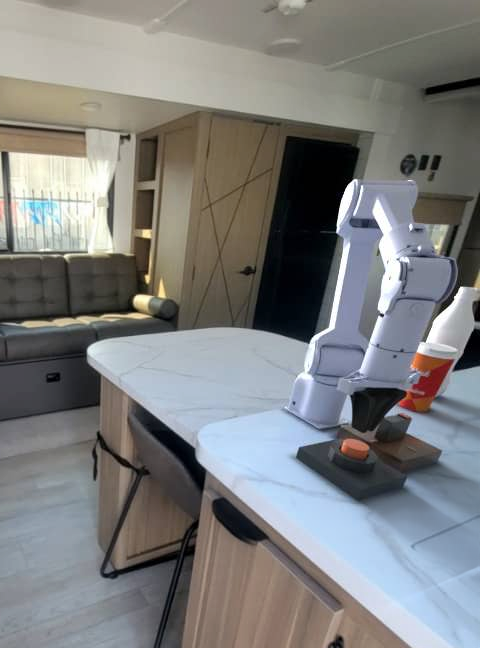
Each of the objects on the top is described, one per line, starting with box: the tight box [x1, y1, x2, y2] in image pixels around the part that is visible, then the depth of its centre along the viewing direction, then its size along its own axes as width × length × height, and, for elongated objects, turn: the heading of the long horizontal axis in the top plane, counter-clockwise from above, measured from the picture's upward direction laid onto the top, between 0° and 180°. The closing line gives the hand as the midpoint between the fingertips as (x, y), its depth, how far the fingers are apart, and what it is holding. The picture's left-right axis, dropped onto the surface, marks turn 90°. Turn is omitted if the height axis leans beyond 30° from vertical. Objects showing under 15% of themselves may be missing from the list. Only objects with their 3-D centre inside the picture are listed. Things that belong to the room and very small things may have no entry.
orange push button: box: [341, 439, 370, 459], centre depth 65 cm, size 4×4×2 cm
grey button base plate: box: [295, 438, 408, 502], centre depth 66 cm, size 12×10×4 cm
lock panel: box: [336, 423, 443, 473], centre depth 73 cm, size 12×10×3 cm
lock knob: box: [375, 412, 413, 442], centre depth 72 cm, size 5×2×4 cm, turn 110°
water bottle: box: [425, 286, 479, 398], centre depth 92 cm, size 7×7×25 cm
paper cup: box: [397, 341, 458, 413], centre depth 88 cm, size 8×8×14 cm
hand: (362, 429), depth 63 cm, fingers closed
